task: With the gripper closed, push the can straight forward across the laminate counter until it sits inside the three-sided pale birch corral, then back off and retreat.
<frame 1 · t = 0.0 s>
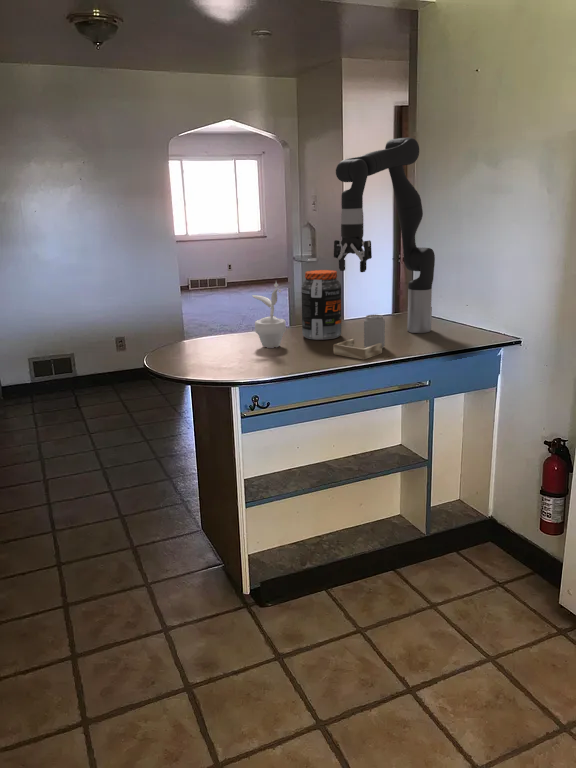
hand: (352, 271, 216), 29 cm above the countertop, fingers open, 8 cm apart
supplement tub: (322, 336, 254), on the countertop
corral: (358, 353, 226), on the countertop
potted plant: (270, 346, 241), on the countertop
can: (374, 348, 233), on the countertop
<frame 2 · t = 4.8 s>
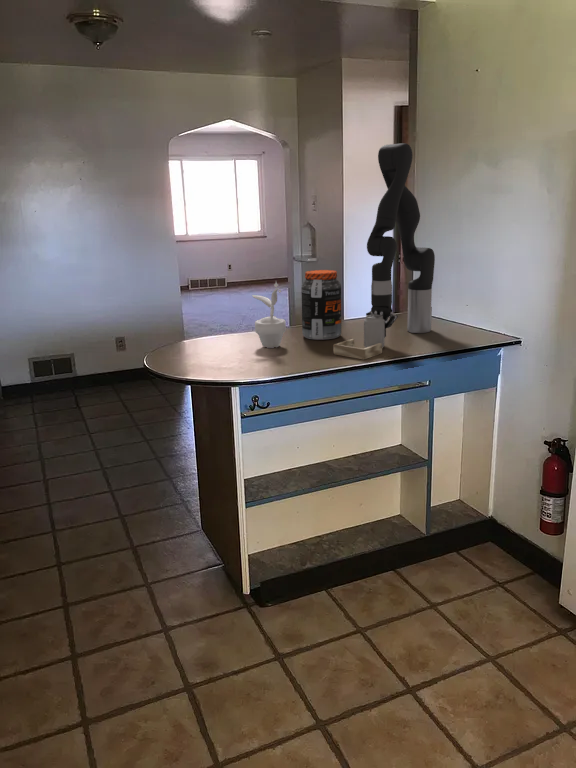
hand: (381, 338, 235), 3 cm above the countertop, fingers closed
can: (374, 348, 233), on the countertop, touching gripper
everything else where it was.
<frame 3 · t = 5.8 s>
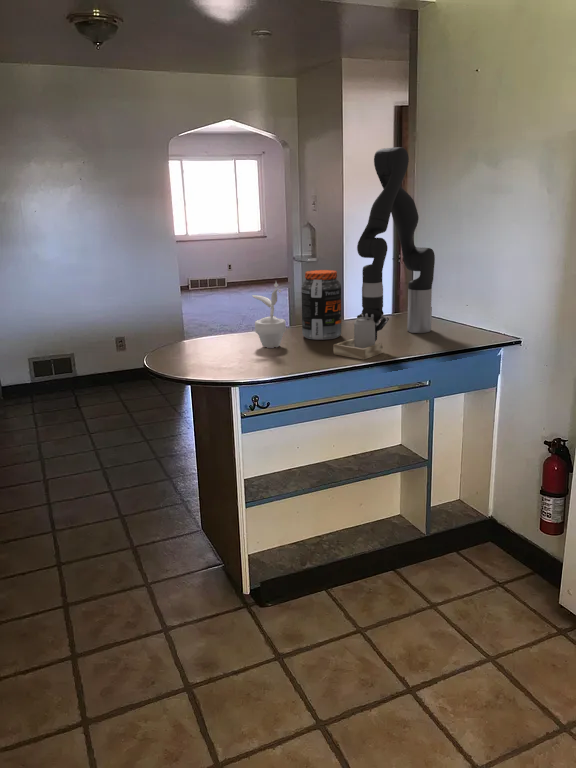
hand: (372, 341, 231), 3 cm above the countertop, fingers closed
can: (364, 351, 229), on the countertop, touching gripper
everything else where it was.
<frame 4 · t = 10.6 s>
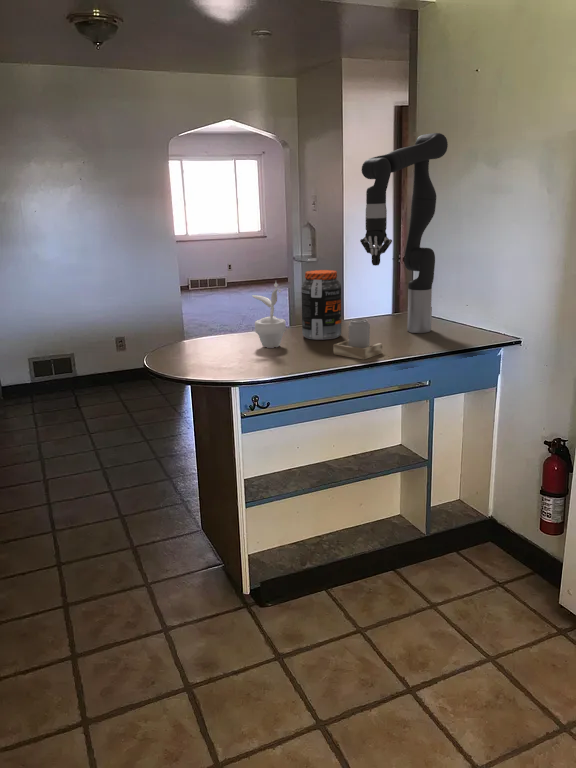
hand: (375, 265, 233), 29 cm above the countertop, fingers closed
can: (359, 353, 226), on the countertop
everything else where it was.
at the end: can inside the target area on the corral (0.6 cm from its centre), point 0.0 cm above the corral's base; can tilted 0°; can moved 9.2 cm from its start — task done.
